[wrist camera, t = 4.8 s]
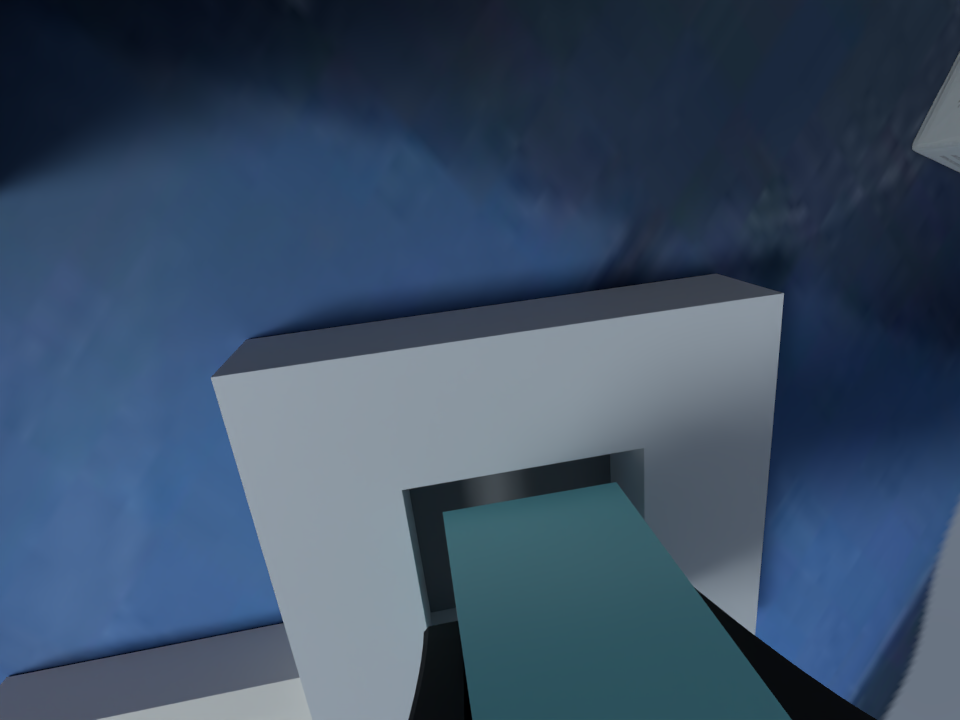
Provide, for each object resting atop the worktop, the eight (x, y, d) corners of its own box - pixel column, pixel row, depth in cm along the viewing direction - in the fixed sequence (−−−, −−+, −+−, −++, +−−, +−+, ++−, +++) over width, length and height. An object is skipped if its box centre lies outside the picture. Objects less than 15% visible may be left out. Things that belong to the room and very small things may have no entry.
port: (701, 625, 18) (749, 695, 16) (342, 702, 17) (333, 791, 14) (716, 273, 14) (783, 293, 12) (246, 339, 13) (210, 377, 10)
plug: (618, 618, 14) (842, 1056, 7) (462, 650, 13) (535, 1152, 6) (616, 481, 12) (891, 853, 5) (442, 512, 12) (507, 957, 5)
